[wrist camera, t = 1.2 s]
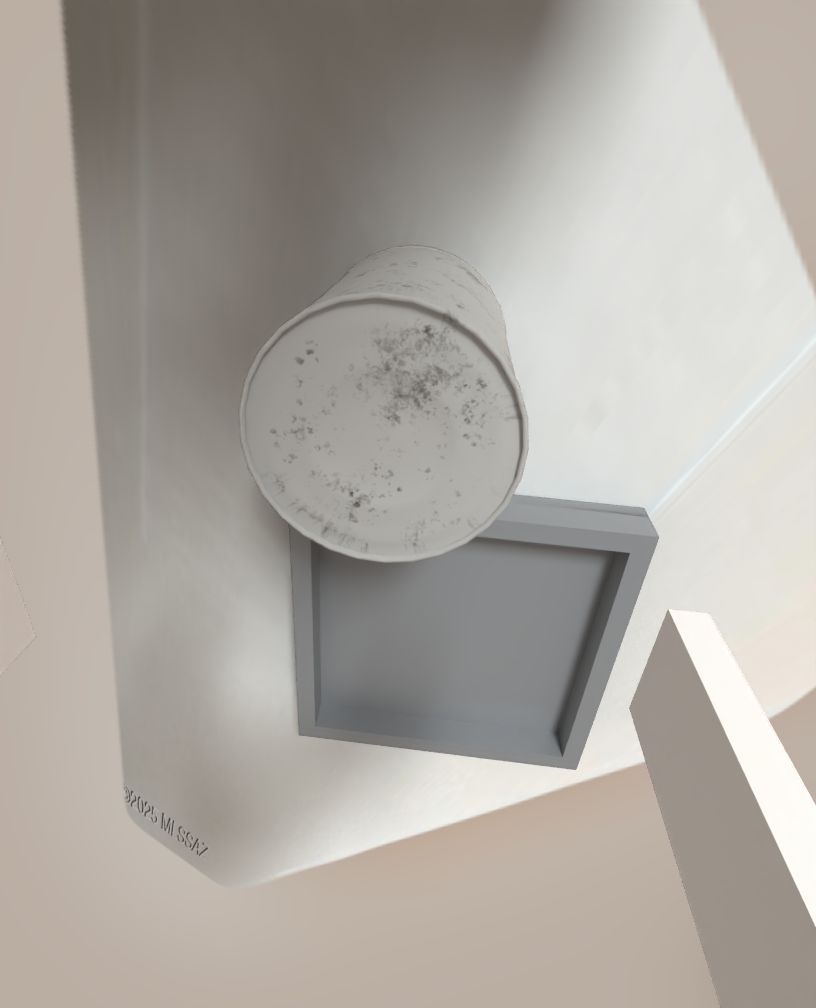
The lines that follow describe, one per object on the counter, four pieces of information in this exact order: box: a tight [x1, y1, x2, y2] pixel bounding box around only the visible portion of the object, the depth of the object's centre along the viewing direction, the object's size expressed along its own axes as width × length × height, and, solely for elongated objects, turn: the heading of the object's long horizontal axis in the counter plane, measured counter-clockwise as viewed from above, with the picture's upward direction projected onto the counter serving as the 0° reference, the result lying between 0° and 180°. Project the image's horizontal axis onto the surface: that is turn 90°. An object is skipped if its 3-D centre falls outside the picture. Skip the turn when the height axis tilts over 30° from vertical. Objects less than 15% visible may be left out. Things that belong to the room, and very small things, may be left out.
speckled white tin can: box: [239, 245, 529, 563], centre depth 24 cm, size 10×10×12 cm
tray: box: [289, 495, 659, 770], centre depth 37 cm, size 20×20×3 cm
